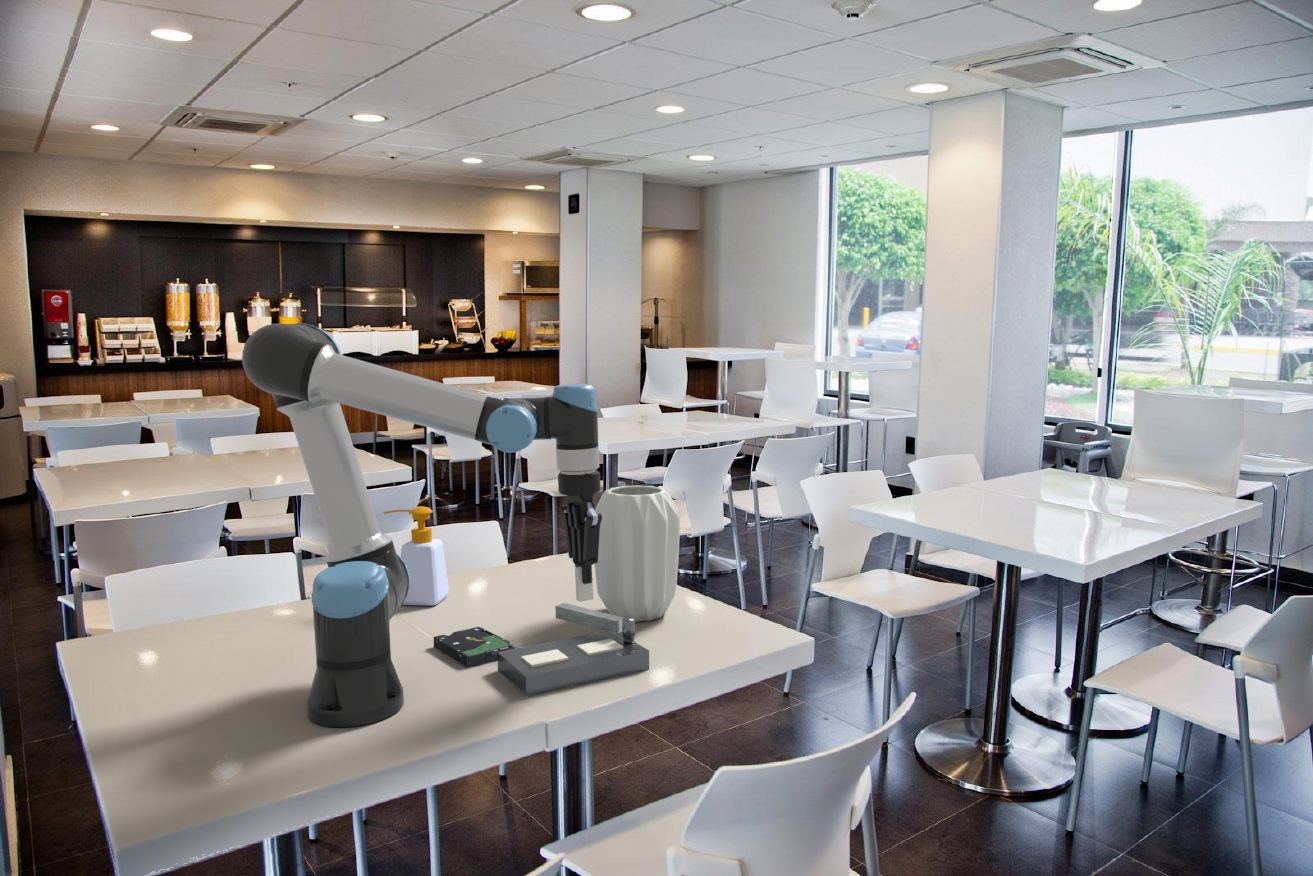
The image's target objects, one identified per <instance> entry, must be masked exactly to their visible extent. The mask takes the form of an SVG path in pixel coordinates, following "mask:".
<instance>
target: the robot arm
mask: <svg viewBox="0 0 1313 876" xmlns="http://www.w3.org/2000/svg"><path fill="white" fill-rule="evenodd" d="M241 361H242V366H243V370H244V373H245V375H246V376H247V378H248V379H249V381H250V382H251V383H252V384H253V385H254V386H255V387H257V388H258V389H260V390H262V391H263V392H264V393H268V394H270V395H272V398H273V401H274V404H275V408H276V410H277V411H278V412H280V413H282V414H284V415H286V416H287V417H289V420H290V423H291V426H292V430H293V432H294V435H295V439H296V442H297V444H298V448H299V451H300V454H301V457H302V460H303V462H304V463H303V464H304V466H305V469H306V471H307V475H308V479H309V481H310V485H311V488H312V491H313V494H314V498H315V500H316V503H317V506H318V509H319V512H320V516H321V519H322V522H323V525H324V527H325V532H326V534H327V537H328V540H329V541H328V542H329V543H330V546H331V547H330V549H329V552H328V554H327V556H326V558H325V561H326V564H327V568H324V569H323V570H321V571H320V572H319V573H317V575H315V578H314V579H313V583H312V592H311V603H312V610H313V628H314V643H315V646H314V647H315V658H316V669H315V673H314V676H313V680H312V684H311V688H310V689H309V690H310V691H309V694H308V697H307V701H306V702H307V703H306V706H307V707H306V708H307V717H308V719H309V720H310V721H311V722H312V723H314V724H317V725H319V726H324V727H330V728H331V727H332V728H333V727H334V728H348V727H349V728H350V727H357V726H358V727H359V726H363V725H369V724H373V723H376V722H379V721H382V720H385V719H387V718H389V717H391V716H393V715H395V714H397V713H398V712H400V710H401V709H402V708H403V706H404V704H405V698H404V697H405V696H404V687H403V685H402V683H401V680H400V678H399V675H398V673H397V670H396V668H395V665H394V663H393V661H392V654H391V653H392V651H391V634H390V633H391V631H390V630H391V629H390V621H391V620H392V618H393V617H394V615H395V614H396V612H397V611H398V610H399V609H400V608H401V607H402V606H403V605H402V604H403V603H404V601H405V599H406V597H407V594H408V591H409V586H410V574H409V570H408V567H407V565H406V563H405V562H404V560H403V559H402V558H401V555H399V554H398V553H397V551H396V548H395V545H394V541H393V539H392V537H391V536H389V535H387V534H385V533H383V532H381V530H380V526H379V523H378V520H377V516H376V514H375V510H374V508H373V504H372V501H371V499H370V495H369V492H368V488H367V486H366V481H365V479H364V475H363V473H362V470H361V466H360V463H359V461H358V460H359V459H358V457H357V453H356V451H355V448H354V444H353V441H352V437H351V435H350V431H349V427H348V425H347V422H346V419H345V418H346V417H345V415H344V413H343V410H342V406H341V405H344V406H349V407H352V408H355V409H358V410H363V411H366V412H371V413H373V414H378V415H382V416H384V417H389V418H392V419H395V420H400V421H404V422H407V423H410V424H415V425H418V426H423V427H426V428H429V429H434V430H436V431H437V430H438V431H441V432H446V433H449V434H452V435H455V436H460V437H463V438H467V439H470V440H475V441H477V442H480V443H484V444H487V445H491V446H492V447H494V448H495V449H497V450H498V451H501V452H502V453H503V452H504V453H508V454H509V453H510V454H511V453H518V452H521V451H522V450H525V449H526V448H527V447H529V446H530V445H531V444H532V442H533V441H539V440H542V441H543V440H555V442H556V444H555V445H556V447H555V453H556V454H555V455H556V469H557V470H558V471H560V472H559V473H558V474H557V484H558V485H557V487H558V488H557V489H558V493H559V494H560V495H562V496H566V499H565V500H566V502H565V504H561V505H560V511H561V512H560V513H561V515H562V519H563V526H564V533H565V539H566V540H565V541H566V546H567V547H566V548H567V554H568V558H569V559H572V563H573V564H574V576H575V577H574V579H575V599H576V601H578V602H579V603H580V602H581V603H583V602H588V601H591V600H592V601H593V600H594V585H593V584H594V583H593V582H594V581H593V565H595V563H598V550H599V534H600V524H601V521H602V515H601V513H599V514H596V512H595V509H596V506H595V505H596V503H595V500H594V495H595V494H598V493H599V492H601V473H600V472H599V471H598V469H599V468H600V455H601V451H600V450H599V425H598V421H599V420H598V406H597V394H596V393H597V392H596V389H595V387H593V385H591V384H589V383H572V384H570V383H569V384H559V385H556V386H554V387H553V393H552V396H551V395H550V396H544V397H515V398H514V397H513V398H511V397H510V398H509V397H503V398H497V397H492V396H489V395H485V394H481V393H478V392H475V391H473V390H472V391H471V390H467V389H463V388H461V387H456V386H453V385H451V384H450V385H449V384H446V383H443V382H439V381H436V380H432V379H430V378H429V379H428V378H425V377H423V376H419V375H414V374H410V373H408V372H403V371H400V370H396V369H392V368H390V367H385V366H383V365H378V364H375V363H372V362H368V361H364V360H361V359H358V358H353V357H352V356H351V357H350V356H346V355H343V354H342V353H341V350H340V347H339V345H338V343H337V342H336V340H335V339H334V338H333V337H332V335H330V333H328V332H326V330H324V329H322V328H320V327H317V326H315V325H312V324H309V323H305V322H303V323H302V322H297V323H270V324H267V325H265V326H262V327H260V328H258V329H257V330H255V331H254V332H252V334H251V335H250V336H249V337H248V338H247V340H246V342H245V344H244V346H243V349H242V355H241Z"/></svg>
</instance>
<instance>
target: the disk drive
mask: <svg viewBox="0 0 1313 876" xmlns="http://www.w3.org/2000/svg"><path fill="white" fill-rule="evenodd" d="M433 648H434V649H436V650H437V651H439V652H441V653H443V654H444V655H446V656H448V657H449V658H451V659H453V660H454V661H456V662H457V663H459V664H460V665H462V666H463V667H465V668H468V669H470V668H473V667H476V666H481V665H485V664H488V663H489V664H490V663H492V662H495V661H498V659H497V652H500V651H505V650H510V649H515V648H516V647H515V646H514V644H513V643H511V642H510V641H509V640H506V639H504V638H502V637H501V636H499V635H497V634H495V633H493V632H491V631H489V630H487V629H485V628H484V627H481V626H476V627H470V628H467V629H462V630H457V631H454V632H452V633H451V634H450V635H446V634H440V635H436V636H434V637H433Z"/></svg>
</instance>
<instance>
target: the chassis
mask: <svg viewBox="0 0 1313 876" xmlns="http://www.w3.org/2000/svg"><path fill="white" fill-rule="evenodd" d="M606 639H612V640H614V641H615V642H617V643H619V644H620V645H622V646H623V649H618V650H613V651H609V652H604V653H599V654H594V655H587V654H586V653H584V652H583V651H582V650H580V649H579V648H577V645H581V644H586V643H591V642H596V641H601V640H606ZM556 649H557V650H559V651H560V652H562V653H563V654H564V655H566V656H567V657H568V658H569V660H565V661H560V662H555V663H550V664H545V665H541V666H536V667H531V666H530V665H528V664H527V663H526V662H525V661H524V660H522V659H521V656H526V655H531V654H536V653H541V652H546V651H551V650H556ZM497 659H498V660H497V671H498V672H499V673H500V674H501V675H503V676H504V677H505V678H506V680H508V681H509V682H510V683H511V684H512V685H513V686H514V687H516V688H517V689H518V690H519V691H520V692H522V694H523V695H524V696H525V697H529V696H530V697H531V696H534V695H538V694H544V693H548V692H551V691H556V690H557V691H558V690H561V689H566V688H570V687H574V686H579V685H583V684H587V683H593V682H598V681H602V680H605V679H611V678H615V677H620V676H624V675H629V674H633V673H638V672H643V671H646V670H650V650H649V649H647V648H646V647H644V646H642V645H641V644H639V643H637V642H636V641H635V637H633V638H624V637H622V632H620V633H618V634H614V633H610V632H606V631H603V630H602V631H600V632H594V633H588V634H583V635H580V636H579V635H578V636H573V637H568V638H562V639H559V640H552V641H547V642H541V643H537V644H532V645H527V646H522V647H515V649H510V650H505V651H500V652H497Z"/></svg>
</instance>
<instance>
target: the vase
mask: <svg viewBox="0 0 1313 876" xmlns="http://www.w3.org/2000/svg"><path fill="white" fill-rule="evenodd" d="M595 512H596V514H599V513H601V515H602V521H601V524H600V534H599V550H598V563H595V564H594V574H595V575H594V576H595V582H596V592H597V595H598V597H599V599H600V600H601V602H602V603H603V605H604V606H605V608H606V609H607V611H608V614H611V615H615V616H619V617H623V618H624V617H633V618H635V623H637V622H649V621H650V622H651V621H652V620H655V619H660V618H661V617H663V616H662V615H665V614H666V612H667V611H668V609H669V607H670V605H671V603H672V601H673V599H674V598H675V595H676V590H677V583H678V571H679V555H680V539H681V538H680V536H681V512H680V511H679V509H678V507H677V505H676V503H675V501H674V500H673V498H672V496H671V494H670V492H669V491H668V490H666V489H665V487H658V486H654V485H622V486H618V487H610V488H609V489H606V490H604V492H603V493H602V495H601V497H600V499H599V500H598V503H597V505H596V506H595Z"/></svg>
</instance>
